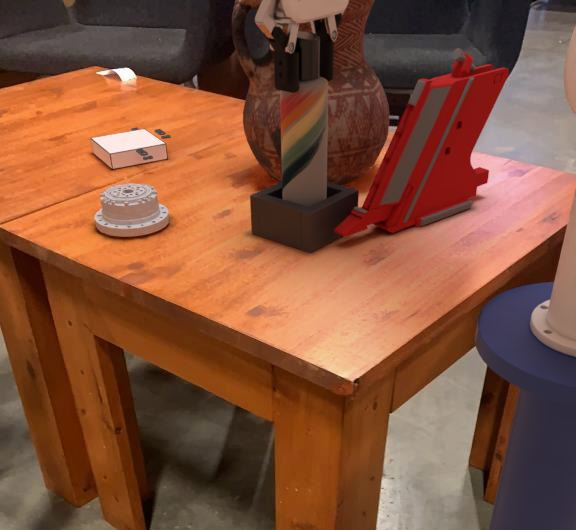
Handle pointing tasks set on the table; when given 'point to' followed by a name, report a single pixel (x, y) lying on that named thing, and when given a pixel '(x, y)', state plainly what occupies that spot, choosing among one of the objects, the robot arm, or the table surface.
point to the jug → (341, 99)
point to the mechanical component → (130, 211)
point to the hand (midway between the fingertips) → (304, 83)
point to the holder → (301, 216)
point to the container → (130, 148)
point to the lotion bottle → (305, 128)
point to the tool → (432, 151)
